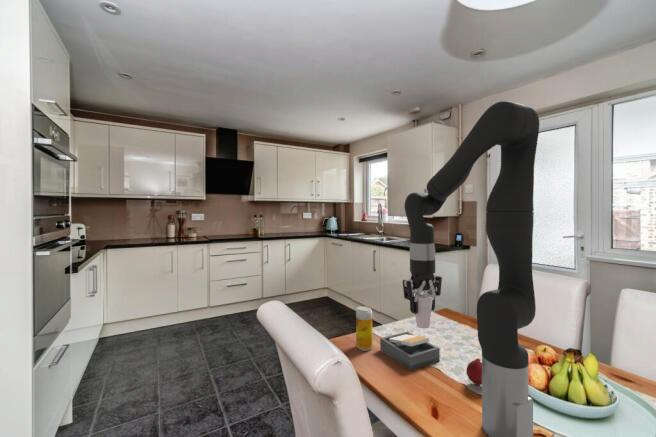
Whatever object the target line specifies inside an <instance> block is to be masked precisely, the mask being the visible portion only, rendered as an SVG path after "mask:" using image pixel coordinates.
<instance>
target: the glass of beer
mask: <svg viewBox="0 0 656 437" xmlns="http://www.w3.org/2000/svg"><path fill="white" fill-rule="evenodd" d="M355 325H356V326H355V327H356V328H355V331H356V333H355V334H356V335H355V337H356V339H355V340H356V341H355V342H356V347H357V349H358V350H359V351H363V352H367V351H370V350H371V349H372V348H373V340H374V339H373V311H372V308H371V307H370V306H365V305H364V306H361V305H360V306H358V307H357V308H356V310H355Z"/></svg>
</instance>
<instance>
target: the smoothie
mask: <svg viewBox="0 0 656 437" xmlns="http://www.w3.org/2000/svg"><path fill="white" fill-rule="evenodd" d="M414 296H415V294H414ZM433 299H434V298H433V295H431V294H429V293H427V292H426V291H425V290H424V291H422V292H421V295H419V297H418V300H417V302H418V313H417V314H414V315H415V322H416V327H417V328H419V329H429V328H430V325H431V317H432V316H431V315H432V310H431V308H432V300H433Z"/></svg>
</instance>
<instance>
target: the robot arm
mask: <svg viewBox="0 0 656 437" xmlns="http://www.w3.org/2000/svg"><path fill="white" fill-rule="evenodd" d="M539 132H540V118H539V114H538V112H537V111H536V110H535V108H533V107H531V106H529V105H525V104H523V103H519V102H513V101H509V100H502V101H501V100H500V101H497V102H495V103H494V104H493V103H492V105H491V106H489V107H488V108H486V110H485V111H484V112H483V114H481V116H480V117H479V118H478V120H476V122H475V124H474V125H473V127H472V129H471V130H470V131H469V132H468V134H467V135H466V137H465V138H464V140H462V142H461V143H460V145H459V147H458V148H457V149H456V151H454V153H453V155H452V156H451V157H450V158H449V159H448V160H447V162H446V163H445V164H444V165H443V166H442V167H441V168H440V169H439V170H438V171H437V172H436V173H435V174H434V175H433V176H432V177H431V178H430V179H429V181H428V182H427V184H426V191H427V192H412V193H410V194H408V195H407V196H406V198H405V201H404V205H403V206H404V212H405V215H406V219H407V222H408V228H409V230H410V234H409V235H410V236H409V237H410V238H409V239H410V240H409V241H410V244H409V272H410V274H411V276H410V279H403V280H402V288H403V289H402V290H403V298H404V300H408V301H409V310H410V312H411V313H412V314H414V315H415V314H417V313H418V302H417V300H418V297H419V295H421V292H422V293H423V292H424V290H425V293H429V294H431V295H433V298H434V299H433V300H432V308H431V311H435V308H436V298H437V297H439V296H441V293H442V281H443V278H442V276H439V275H436V247H435V228H434V226H433V224H431V223H427V222H426V221H425V217H426V216H427V217H428V216H433V215H434V214H436V213H438V212H439V211H440V210H441V208H442V207H443V206H444V203H445V202H446V201H447V199H448V197H450V196H451V195H452V194H454V192H456V190H458V189H459V188H460V187H461V186H462V185H463V184H464V183H465V182H466V180H467V179H468V178H469V176H470V173H471V171H472V169H473V167H474V165H475V163H476V162H477V161H478V160H479V159H480V157H481V156H483V155H484V154H485V153H487V152H488V151H489V150H490V149H492V148H494V147H495V146H496V145H497V146H500V154H501V155H500V157H501V158H500V170H499V173H498V176H497V178H496V181H495V183H494V184H493V187H492V189H491V192H490V193H489V195H488V199H487V202H486V205H485V206H486V207H485V209H486V210H485V211H486V212H485V230H486V231H485V232H486V235H487V239H488V241H489V244H490V246H491V248H492V250H493V252H494V253H493V254H494V255H495V257H496V260H497V263H498V284H497V289H491V290H488V291H485V292H483V293H482V294H481V295H480V296H479V297H478V300H477V304H476V326H477V327H476V328H477V338H478V343H479V345H480V349H481V363H482V384H481V427H482V430H483V431H484V432H485V434H486V435H487V436H488V437H534V399H533V398H532V397H530V396H529V389H530V388H529V385H530V384H529V383H530V382H529V380H530V379H529V374H530V373H529V371H530V370H529V369H530V368H529V365H530V364H529V362H530V361H529V357H530V356H529V353H528V350H527V349H526V348H525V347H524V346H523V345H521V344H519V336H518V334H519V332H518V331H519V330H520V329H522V328H523V329H524V328H525V327H527V326H529V325H530V324H531V323H532V322H533V321H534V319H535V317H536V312H537V311H536V298H535V296H536V295H535V286H534V285H535V284H534V280H533V279H534V277H533V241H534V240H533V237H534V236H533V235H534V234H533V233H534V213H535V212H534V189H535V187H534V184H535V160H536V154H537V146H538V140H539V139H538V138H539V134H540V133H539ZM434 274H435V275H434ZM414 294H415V296H414Z"/></svg>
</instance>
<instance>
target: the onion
mask: <svg viewBox="0 0 656 437" xmlns="http://www.w3.org/2000/svg"><path fill="white" fill-rule="evenodd" d="M465 370H466V371H465V372H466V375H467V377H468V379H469V380H470V382H472V383H473V384H474V385H476V386H482V361H481V359H480V358H479V357H477V358H475V359H474V360H472V361H470V362H469V363H468V364H467V366H466V369H465Z"/></svg>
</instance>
